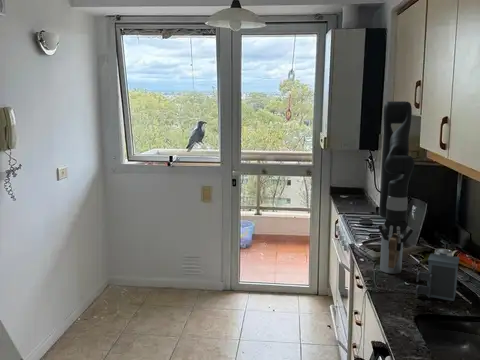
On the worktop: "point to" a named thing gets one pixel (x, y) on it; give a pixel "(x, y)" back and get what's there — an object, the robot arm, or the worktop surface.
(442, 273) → the slate cabinet
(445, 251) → the beer glass
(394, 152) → the robot arm
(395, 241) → the walnut door
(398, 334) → the worktop surface
